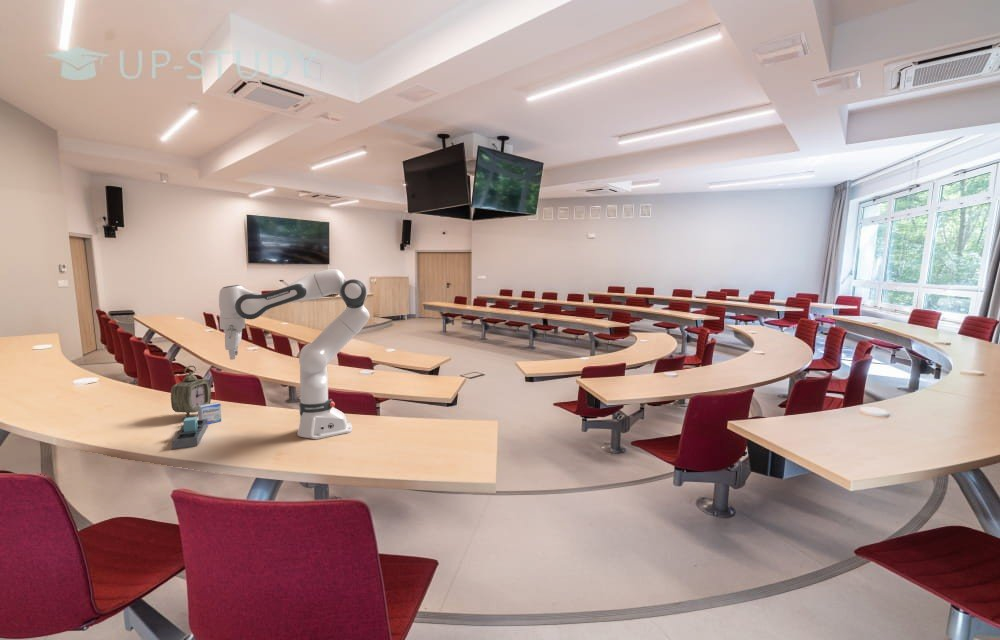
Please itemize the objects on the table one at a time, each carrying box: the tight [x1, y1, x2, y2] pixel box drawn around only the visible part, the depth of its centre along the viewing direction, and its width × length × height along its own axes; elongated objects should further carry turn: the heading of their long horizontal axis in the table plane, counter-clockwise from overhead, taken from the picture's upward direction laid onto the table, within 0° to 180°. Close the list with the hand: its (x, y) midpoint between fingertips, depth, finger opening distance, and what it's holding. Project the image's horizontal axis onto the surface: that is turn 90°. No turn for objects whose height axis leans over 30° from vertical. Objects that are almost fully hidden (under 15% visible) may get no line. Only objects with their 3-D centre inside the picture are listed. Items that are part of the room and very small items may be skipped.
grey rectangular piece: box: [171, 419, 209, 450], centre depth 174 cm, size 8×24×4 cm, turn 27°
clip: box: [182, 416, 198, 432], centre depth 174 cm, size 4×4×8 cm
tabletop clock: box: [170, 365, 212, 418], centre depth 198 cm, size 14×9×25 cm, turn 179°
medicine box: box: [197, 401, 222, 425], centre depth 192 cm, size 8×4×9 cm, turn 143°
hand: (233, 357), depth 173 cm, fingers open, 8 cm apart
